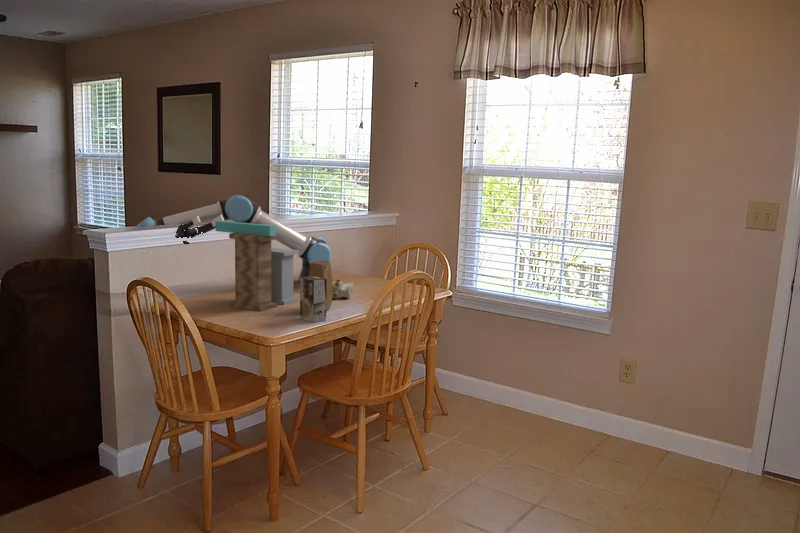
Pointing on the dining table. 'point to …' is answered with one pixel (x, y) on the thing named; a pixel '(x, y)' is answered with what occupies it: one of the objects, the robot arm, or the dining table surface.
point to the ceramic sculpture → (341, 290)
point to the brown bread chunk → (323, 271)
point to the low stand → (282, 276)
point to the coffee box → (313, 298)
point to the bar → (246, 228)
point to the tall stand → (252, 271)
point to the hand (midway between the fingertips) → (210, 218)
